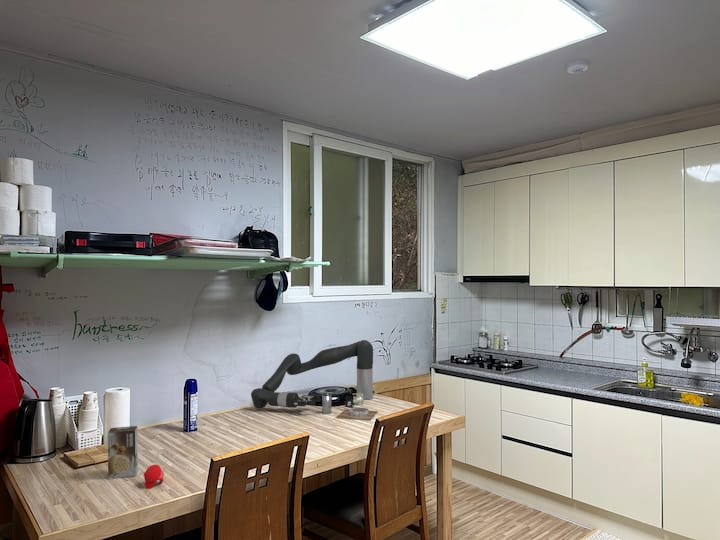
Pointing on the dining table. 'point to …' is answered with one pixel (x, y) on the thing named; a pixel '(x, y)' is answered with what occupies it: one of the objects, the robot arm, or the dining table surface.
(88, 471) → the dining table surface
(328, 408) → the cylinder
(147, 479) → the cap
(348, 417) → the board
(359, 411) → the ring
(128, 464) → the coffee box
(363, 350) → the robot arm
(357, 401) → the valve
